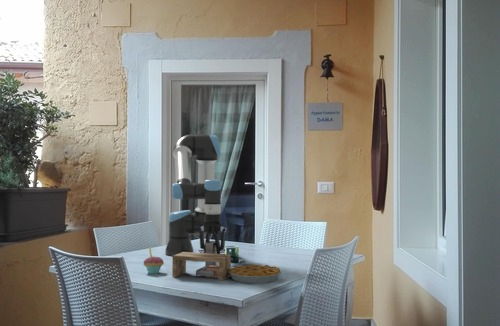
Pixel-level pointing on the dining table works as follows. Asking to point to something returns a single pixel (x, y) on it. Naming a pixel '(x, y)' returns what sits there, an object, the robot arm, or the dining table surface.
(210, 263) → the hook tool
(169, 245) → the robot arm
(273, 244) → the dining table surface
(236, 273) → the pie
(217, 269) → the block
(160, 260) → the cupcake
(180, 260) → the shelf
